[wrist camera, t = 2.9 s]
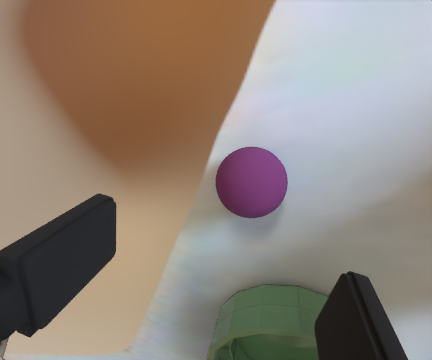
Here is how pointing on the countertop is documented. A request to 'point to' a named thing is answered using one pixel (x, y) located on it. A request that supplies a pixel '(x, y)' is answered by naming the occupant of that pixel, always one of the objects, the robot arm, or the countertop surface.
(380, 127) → the countertop surface
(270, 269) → the countertop surface
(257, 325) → the bowl
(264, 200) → the ball
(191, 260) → the countertop surface
